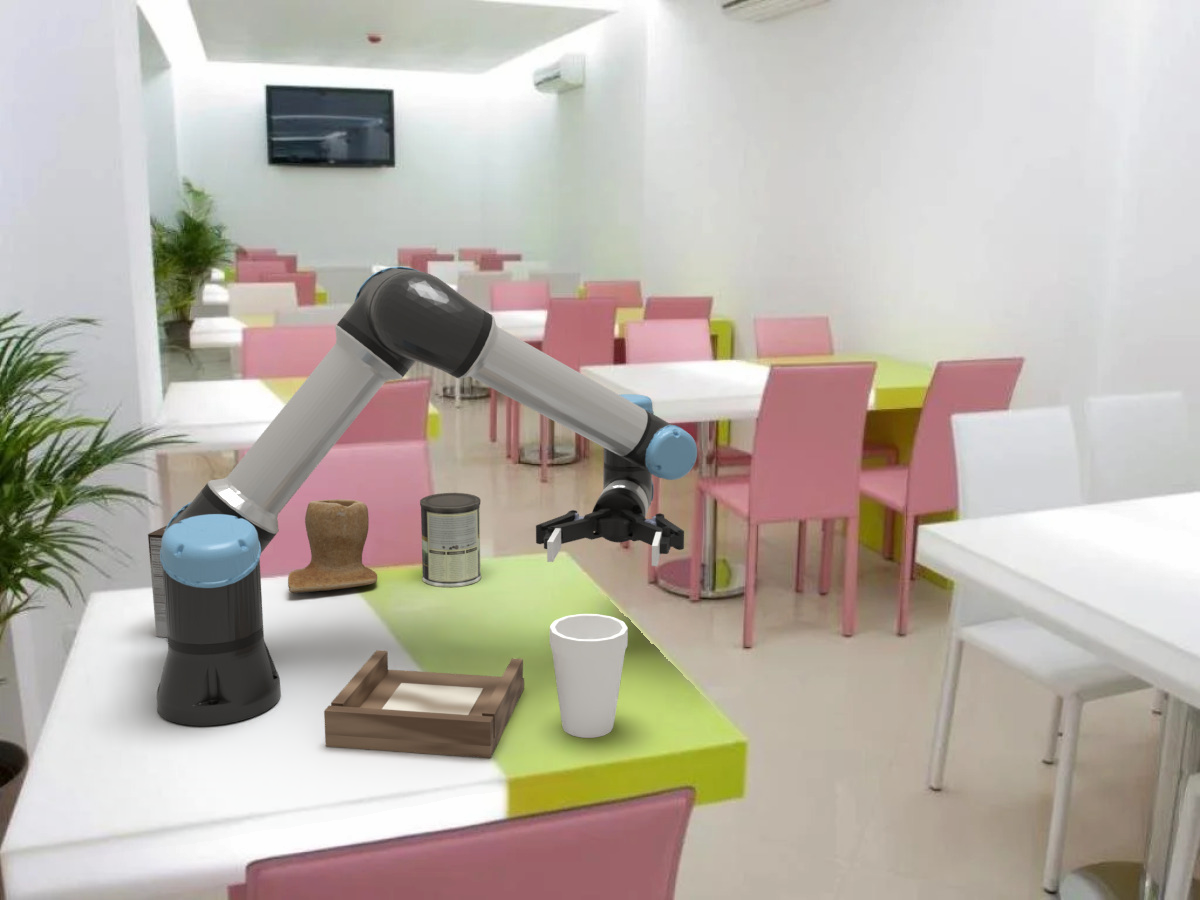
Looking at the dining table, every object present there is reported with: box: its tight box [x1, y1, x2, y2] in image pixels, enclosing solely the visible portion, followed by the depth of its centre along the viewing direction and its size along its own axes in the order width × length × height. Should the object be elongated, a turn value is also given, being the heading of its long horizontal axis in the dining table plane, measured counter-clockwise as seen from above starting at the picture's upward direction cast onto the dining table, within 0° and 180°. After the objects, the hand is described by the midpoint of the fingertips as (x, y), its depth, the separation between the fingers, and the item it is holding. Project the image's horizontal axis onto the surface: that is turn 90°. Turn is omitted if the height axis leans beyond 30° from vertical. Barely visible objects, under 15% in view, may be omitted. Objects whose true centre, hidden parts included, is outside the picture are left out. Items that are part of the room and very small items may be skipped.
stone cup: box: [287, 498, 378, 594], centre depth 190 cm, size 15×12×15 cm
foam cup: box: [549, 613, 629, 739], centre depth 138 cm, size 10×9×13 cm
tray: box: [323, 649, 525, 759], centre depth 142 cm, size 20×20×4 cm
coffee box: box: [147, 525, 167, 638], centre depth 170 cm, size 9×6×16 cm
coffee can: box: [419, 492, 482, 588], centre depth 195 cm, size 10×10×14 cm
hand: (602, 554), depth 145 cm, fingers open, 13 cm apart
